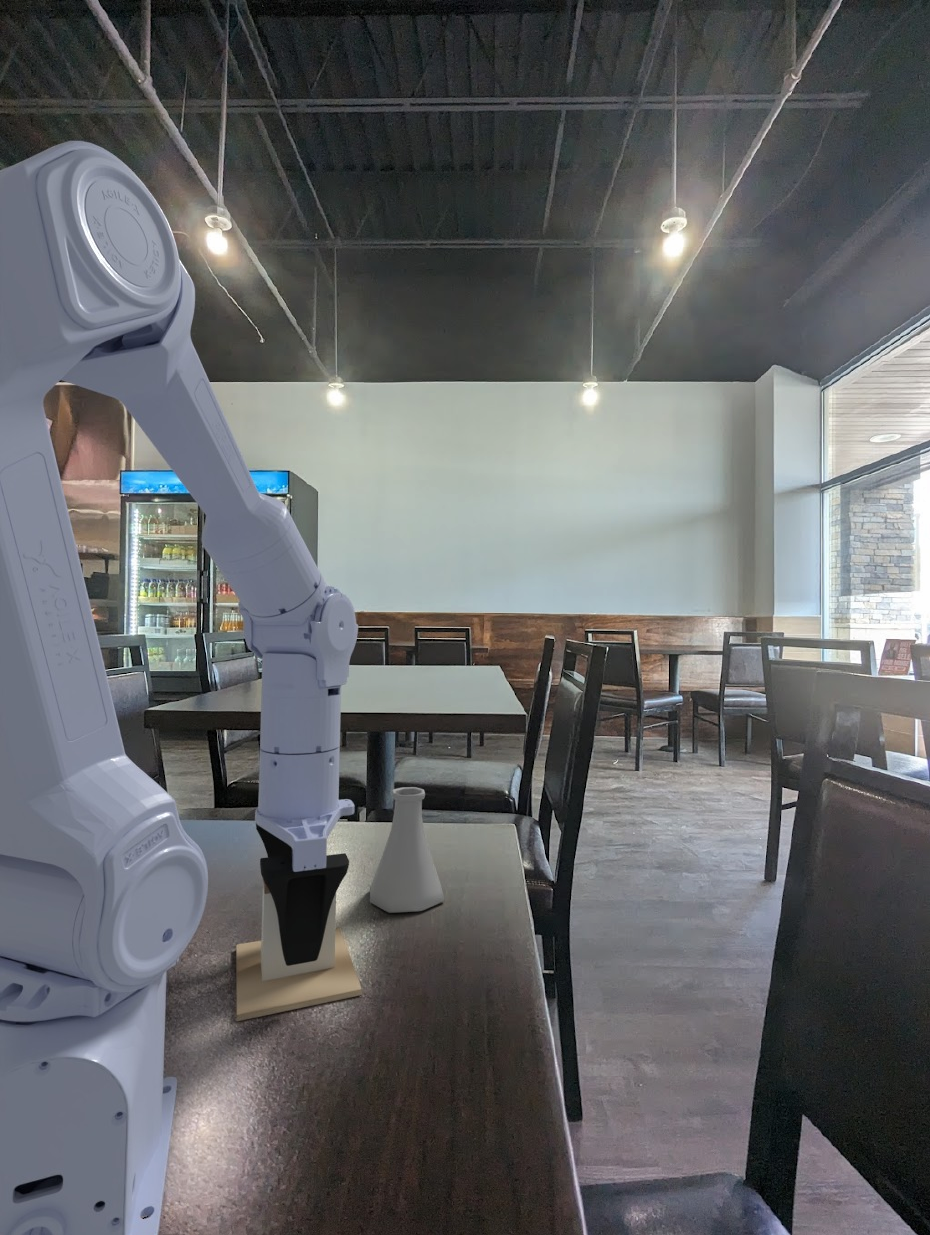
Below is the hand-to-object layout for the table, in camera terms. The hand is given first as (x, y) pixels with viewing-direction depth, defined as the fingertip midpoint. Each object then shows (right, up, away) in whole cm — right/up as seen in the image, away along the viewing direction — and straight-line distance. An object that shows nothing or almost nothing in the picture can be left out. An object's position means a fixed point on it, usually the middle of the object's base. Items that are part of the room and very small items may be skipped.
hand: (295, 933), depth 43 cm
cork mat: (0, -3, 0) cm, 3 cm away
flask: (+7, -4, +12) cm, 15 cm away
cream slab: (0, -2, 0) cm, 2 cm away
